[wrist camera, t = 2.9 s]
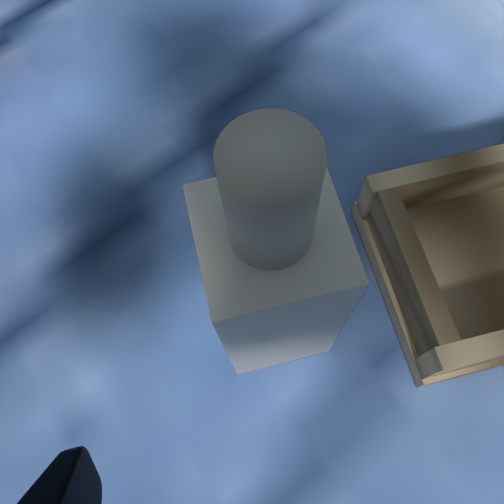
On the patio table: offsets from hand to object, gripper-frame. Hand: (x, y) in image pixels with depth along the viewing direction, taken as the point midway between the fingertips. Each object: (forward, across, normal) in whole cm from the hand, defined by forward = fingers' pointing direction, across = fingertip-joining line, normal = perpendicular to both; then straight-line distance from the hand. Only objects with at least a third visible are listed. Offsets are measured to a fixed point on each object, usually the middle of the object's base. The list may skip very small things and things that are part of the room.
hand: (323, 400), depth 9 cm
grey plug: (+11, 0, +4) cm, 12 cm away
